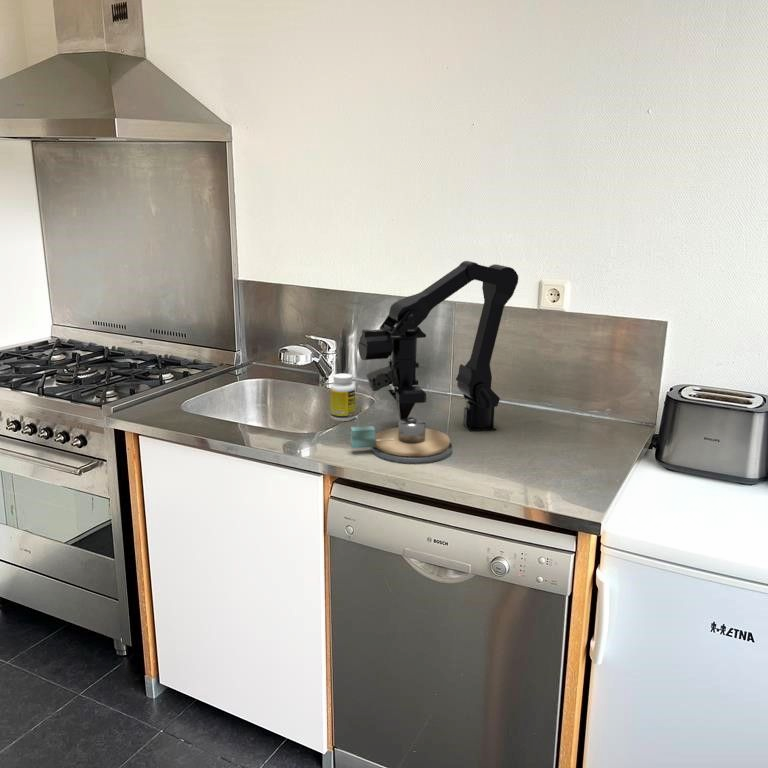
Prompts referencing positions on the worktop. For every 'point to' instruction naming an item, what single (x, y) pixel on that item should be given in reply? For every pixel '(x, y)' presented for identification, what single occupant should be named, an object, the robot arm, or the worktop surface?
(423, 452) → the turntable
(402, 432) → the cover
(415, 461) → the base
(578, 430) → the worktop surface
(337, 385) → the pill bottle
